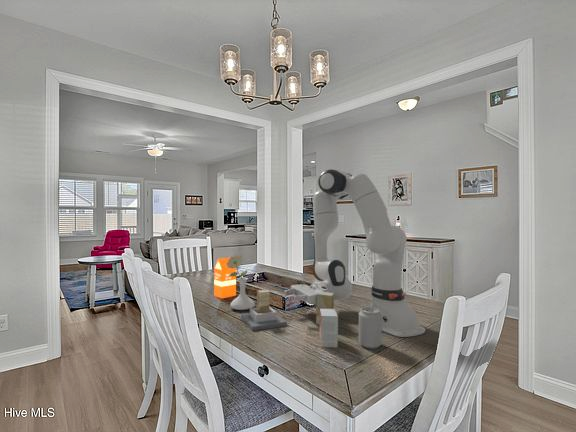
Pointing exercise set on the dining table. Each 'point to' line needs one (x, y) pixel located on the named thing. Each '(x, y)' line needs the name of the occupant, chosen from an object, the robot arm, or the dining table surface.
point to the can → (370, 327)
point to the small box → (328, 328)
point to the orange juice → (224, 279)
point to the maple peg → (263, 301)
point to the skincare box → (324, 303)
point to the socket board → (263, 319)
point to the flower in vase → (242, 300)
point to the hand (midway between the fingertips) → (289, 295)
